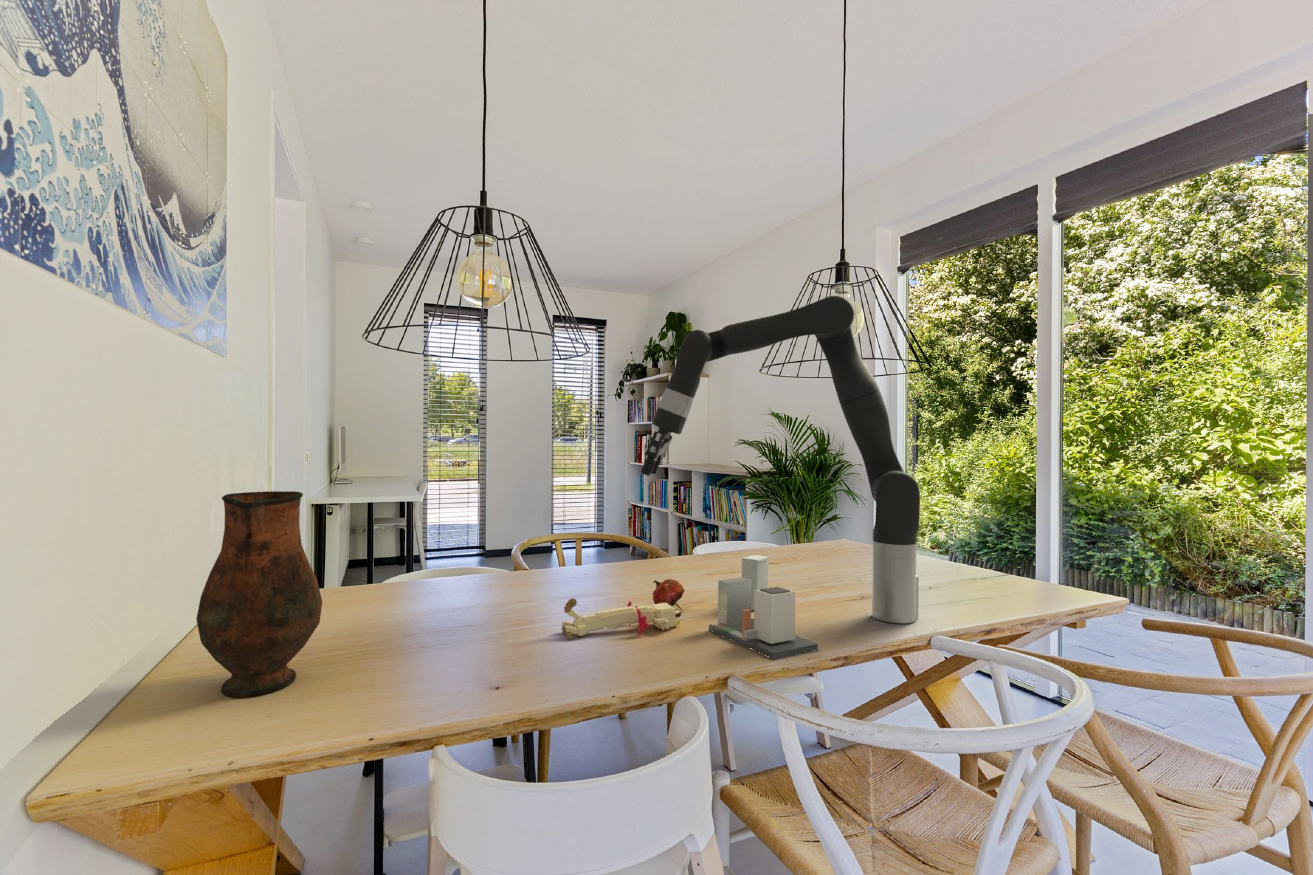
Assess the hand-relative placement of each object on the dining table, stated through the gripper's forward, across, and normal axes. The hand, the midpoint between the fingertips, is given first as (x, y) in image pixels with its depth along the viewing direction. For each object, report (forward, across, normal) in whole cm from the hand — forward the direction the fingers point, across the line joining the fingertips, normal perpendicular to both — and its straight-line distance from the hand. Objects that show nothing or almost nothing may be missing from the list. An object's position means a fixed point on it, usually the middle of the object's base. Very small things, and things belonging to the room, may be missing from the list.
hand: (648, 473), depth 151 cm
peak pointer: (+19, -26, -33) cm, 46 cm away
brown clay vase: (+48, -59, +37) cm, 85 cm away
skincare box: (+20, +3, -35) cm, 41 cm away
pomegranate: (+27, -3, -17) cm, 32 cm away
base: (+20, -22, -36) cm, 47 cm away
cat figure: (+30, -22, -11) cm, 39 cm away
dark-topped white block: (+18, -26, -37) cm, 49 cm away
